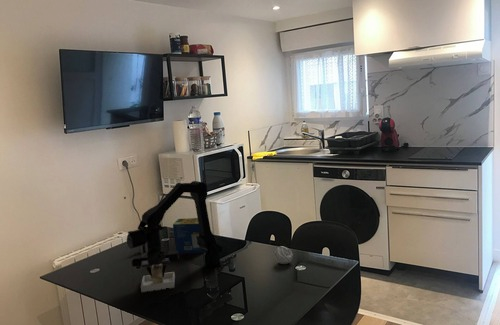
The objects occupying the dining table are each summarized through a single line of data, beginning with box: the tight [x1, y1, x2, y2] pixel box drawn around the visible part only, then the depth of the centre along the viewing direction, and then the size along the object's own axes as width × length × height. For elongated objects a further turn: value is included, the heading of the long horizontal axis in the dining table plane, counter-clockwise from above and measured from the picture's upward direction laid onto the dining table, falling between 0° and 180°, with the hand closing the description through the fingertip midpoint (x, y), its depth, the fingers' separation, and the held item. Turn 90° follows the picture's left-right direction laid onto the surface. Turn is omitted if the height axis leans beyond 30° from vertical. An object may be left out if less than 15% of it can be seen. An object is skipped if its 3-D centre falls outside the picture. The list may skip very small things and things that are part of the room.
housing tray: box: [140, 271, 176, 293], centre depth 179 cm, size 13×11×2 cm
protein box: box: [172, 217, 205, 255], centre depth 218 cm, size 10×15×16 cm
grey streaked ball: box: [274, 245, 294, 265], centre depth 190 cm, size 8×8×8 cm
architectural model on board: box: [138, 243, 148, 254], centre depth 225 cm, size 11×3×10 cm, turn 150°
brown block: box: [151, 263, 164, 284], centre depth 178 cm, size 4×6×7 cm, turn 9°
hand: (158, 277), depth 178 cm, fingers closed on brown block, 4 cm apart
